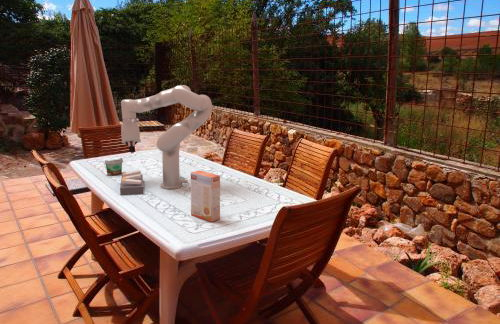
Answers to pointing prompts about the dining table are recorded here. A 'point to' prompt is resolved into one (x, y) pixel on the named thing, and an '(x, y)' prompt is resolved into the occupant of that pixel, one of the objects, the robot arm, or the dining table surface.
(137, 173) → the rocker far
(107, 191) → the dining table surface
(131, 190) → the grey switch panel
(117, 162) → the food container
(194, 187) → the cracker box
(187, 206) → the dining table surface
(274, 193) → the dining table surface
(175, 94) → the robot arm
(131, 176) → the rocker middle
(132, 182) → the rocker near
